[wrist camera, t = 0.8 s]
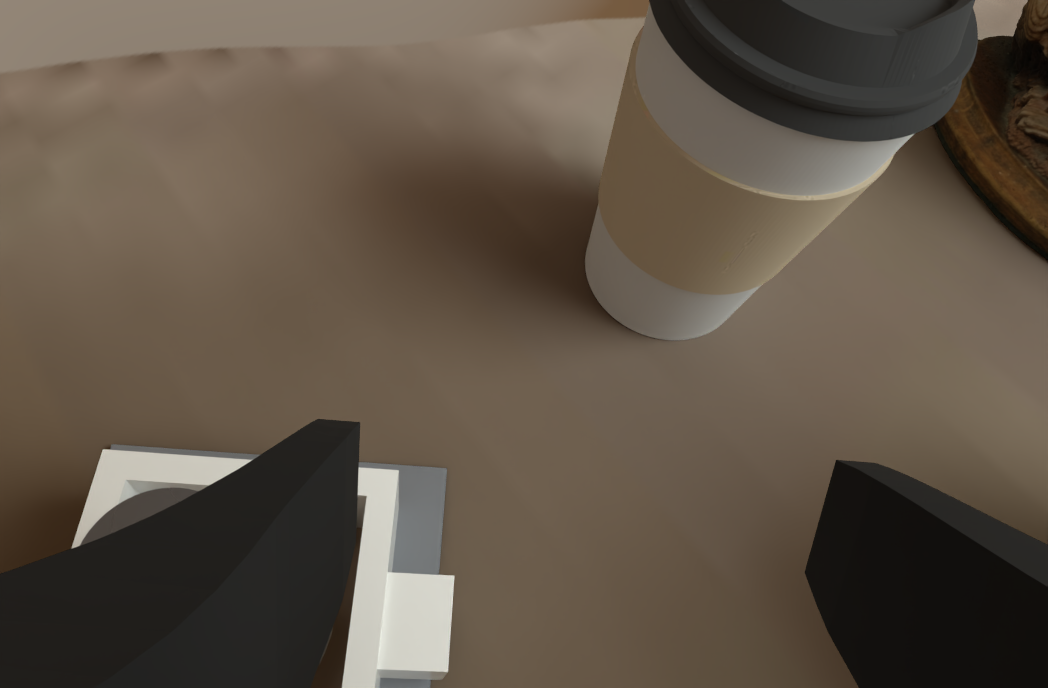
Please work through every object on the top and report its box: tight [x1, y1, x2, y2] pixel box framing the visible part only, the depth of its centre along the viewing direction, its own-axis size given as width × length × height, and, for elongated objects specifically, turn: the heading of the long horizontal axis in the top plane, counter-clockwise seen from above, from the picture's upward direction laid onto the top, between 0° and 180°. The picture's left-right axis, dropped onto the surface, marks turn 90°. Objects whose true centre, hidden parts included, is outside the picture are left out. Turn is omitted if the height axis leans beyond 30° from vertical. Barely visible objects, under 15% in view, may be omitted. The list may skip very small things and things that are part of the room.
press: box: [71, 444, 454, 688], centre depth 20 cm, size 11×11×4 cm
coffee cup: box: [585, 0, 978, 340], centre depth 24 cm, size 9×9×15 cm
